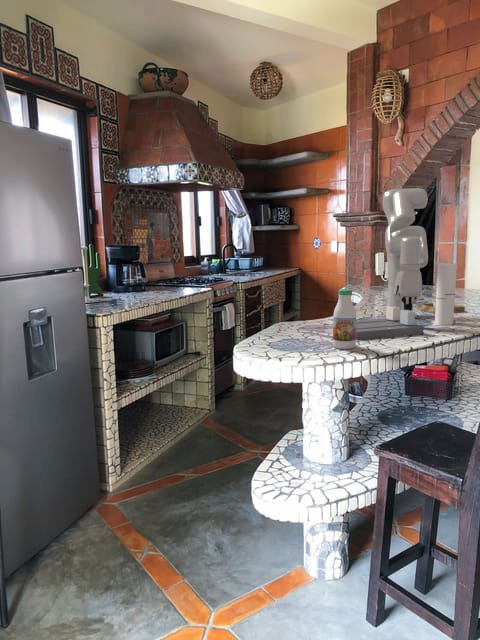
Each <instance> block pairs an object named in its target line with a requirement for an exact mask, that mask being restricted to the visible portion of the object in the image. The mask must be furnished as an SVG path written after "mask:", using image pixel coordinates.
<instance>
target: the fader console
mask: <svg viewBox="0 0 480 640" xmlns="http://www.w3.org/2000/svg"><path fill="white" fill-rule="evenodd" d="M418 334H419V335H423V334H424V326H422V325H419V324H417V323H414V325H405V324H402V323H400V318H399V320H394V321H393V320H389V319H386V318H377V319H362V320H361V319H360V320H356V341H358V339H361V340H371V338H372V339H380V338H381V339H382V337H384V338H394V337H404V335H407V336H416V335H418ZM419 335H418V336H419Z"/></svg>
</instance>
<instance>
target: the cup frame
mask: <svg viewBox="0 0 480 640" xmlns="http://www.w3.org/2000/svg"><path fill="white" fill-rule="evenodd" d="M465 309H466V308H465V306H463V305H460V304H454V314H455V313H465ZM417 310H420V311H424V312H428V313H433V314H435V311H436V308H435V307H433V302H428V303H417Z"/></svg>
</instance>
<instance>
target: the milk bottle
mask: <svg viewBox="0 0 480 640" xmlns="http://www.w3.org/2000/svg"><path fill="white" fill-rule="evenodd" d="M352 297H353V290H352V289H350V288H341V289H338V300H337V303H336V306H335V308H334V311H333V316H332V317H333V319H332V320H333V321H332V346H333V348H335V349H340V350H351V349H354V348H355V347H356V346H357V345H356V343H357V340H356V321H357V312H356V308H355V306H354V304H353V300H352Z"/></svg>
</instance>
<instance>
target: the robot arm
mask: <svg viewBox="0 0 480 640" xmlns="http://www.w3.org/2000/svg"><path fill="white" fill-rule="evenodd" d="M427 205H428V194H427V191H426V190H425V189H424V188H421V187H416V188H393V189H388V190H386V191H385V192H384V193H383V195H382V208H383V212H384V214H385V216H386V220H387V224H388V225H387V227H386V229H385V232H384V239H385V240H384V244H385V246H384V247H385V251H386V262H387V276H388V277H387V301H386V303H387V304H386V305H385V306H384V309H386V306H395V307H399V308H400V310H404V309H405V310H410V311H413V304H414V303H415V301H416V300H418V299H421V297H422V296H421V295H422V291H423V280H422V272H421V271H420V269H422V268H425V266H427V265H428V262H429V250H428V243H427V241H428V239H427V233H426V232H427V231H426V229H425V228H424V227H423V226H421V225H420V226H419V225H412V224H413V223H414V222H415V220H416V215H415V213H416V212H415V209H416V210H417V209H418V210H419V209H425V208H426V206H427ZM382 315H383V316H384V317H386V311H384V312H383V314H382ZM399 319H400V316H399Z"/></svg>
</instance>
